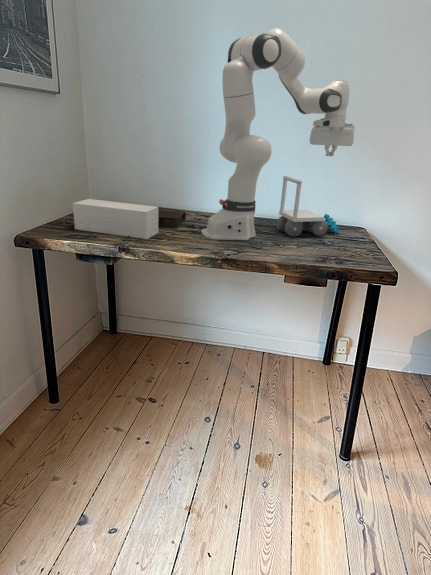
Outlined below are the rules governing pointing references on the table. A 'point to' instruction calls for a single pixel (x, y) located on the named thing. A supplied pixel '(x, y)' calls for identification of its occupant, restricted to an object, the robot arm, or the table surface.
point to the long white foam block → (116, 218)
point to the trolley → (299, 215)
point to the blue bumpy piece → (331, 223)
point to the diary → (170, 218)
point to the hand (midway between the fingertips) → (329, 156)
